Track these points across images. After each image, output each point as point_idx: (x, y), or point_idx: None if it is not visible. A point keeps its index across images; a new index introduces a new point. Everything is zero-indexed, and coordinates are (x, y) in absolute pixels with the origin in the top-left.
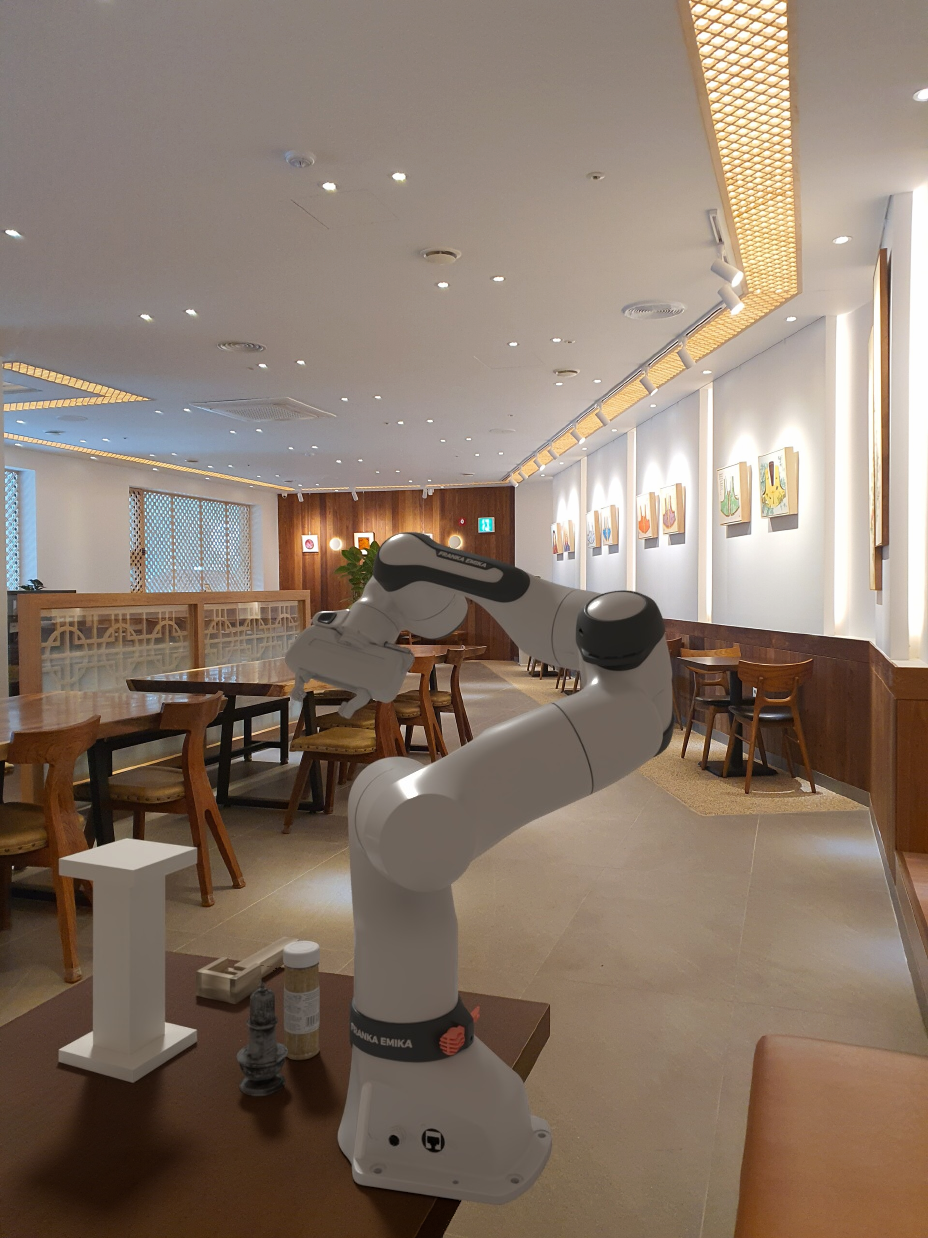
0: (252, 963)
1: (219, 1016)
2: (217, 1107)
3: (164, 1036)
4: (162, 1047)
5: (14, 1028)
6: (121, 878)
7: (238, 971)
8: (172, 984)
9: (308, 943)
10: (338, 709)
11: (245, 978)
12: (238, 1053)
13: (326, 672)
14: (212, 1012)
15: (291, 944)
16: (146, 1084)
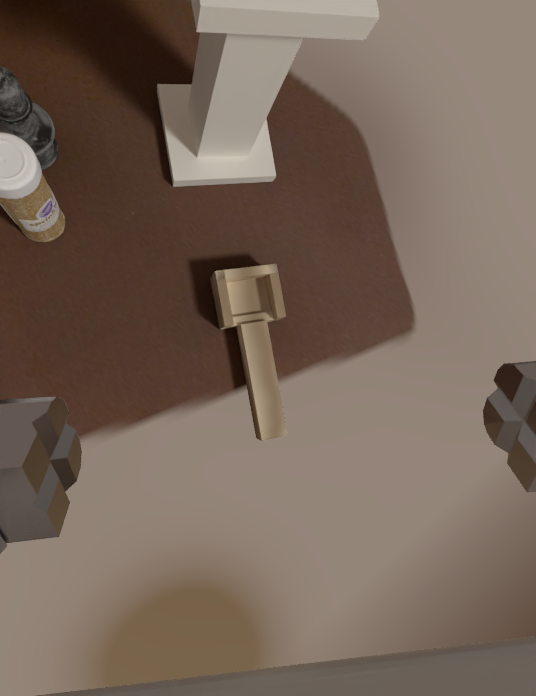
0: (251, 338)
1: (201, 245)
2: (38, 91)
3: (191, 152)
4: (172, 133)
5: (355, 125)
6: None
7: (253, 317)
8: (316, 280)
9: (1, 174)
10: (50, 398)
11: (217, 292)
12: (47, 115)
13: (507, 676)
14: (216, 249)
15: (24, 158)
16: (143, 96)
